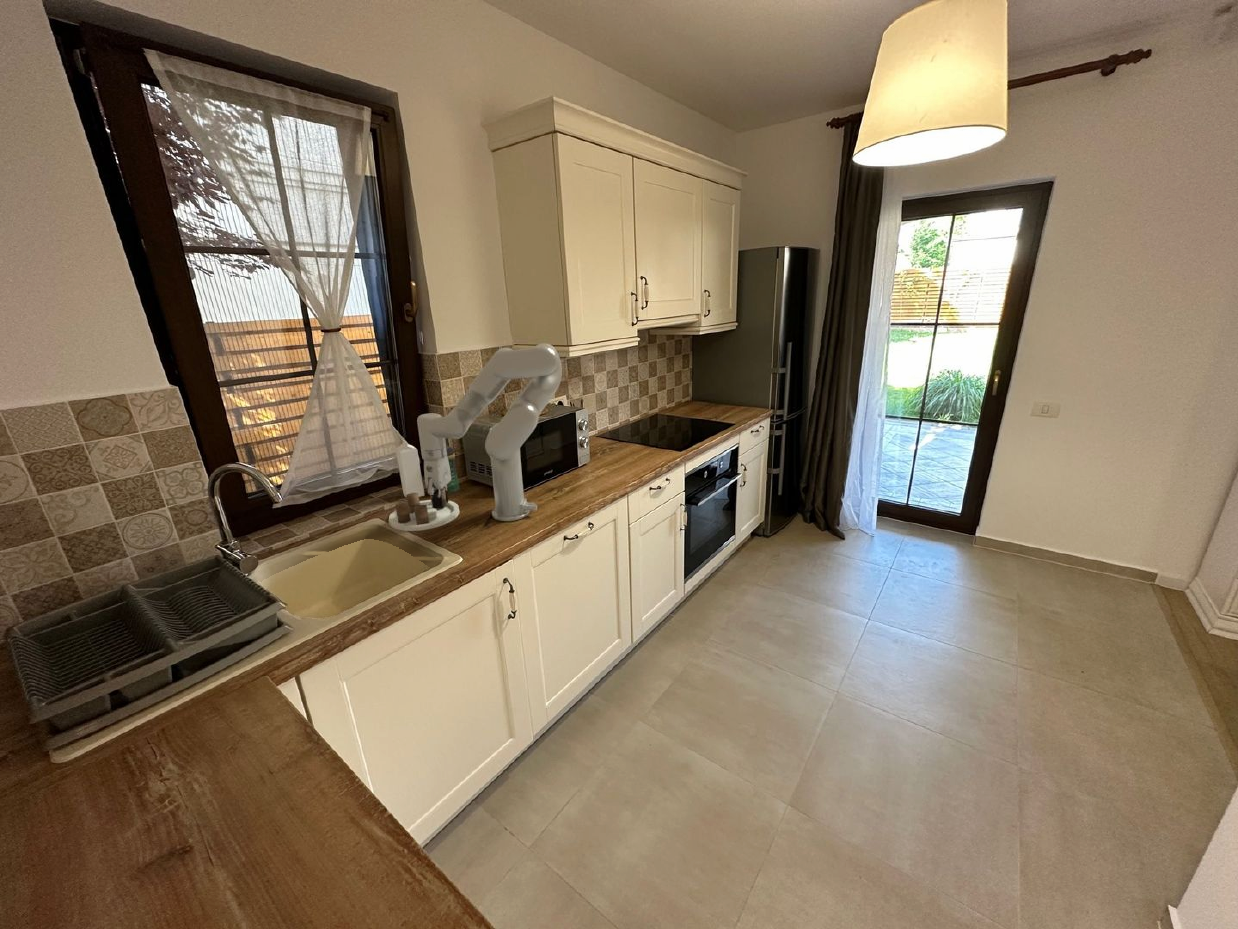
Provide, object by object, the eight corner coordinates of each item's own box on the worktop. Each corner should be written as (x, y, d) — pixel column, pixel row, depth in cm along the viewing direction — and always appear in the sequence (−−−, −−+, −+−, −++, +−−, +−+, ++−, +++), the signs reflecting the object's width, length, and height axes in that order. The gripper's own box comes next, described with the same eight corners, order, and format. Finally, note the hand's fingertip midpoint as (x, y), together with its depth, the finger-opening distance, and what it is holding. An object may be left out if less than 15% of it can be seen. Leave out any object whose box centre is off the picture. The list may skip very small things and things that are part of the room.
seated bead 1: (422, 508, 168) (420, 492, 166) (417, 513, 164) (415, 497, 162) (411, 508, 168) (409, 492, 166) (406, 513, 164) (404, 497, 162)
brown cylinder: (445, 506, 169) (443, 490, 168) (441, 510, 166) (439, 494, 164) (435, 505, 170) (432, 490, 168) (430, 510, 166) (428, 494, 164)
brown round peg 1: (412, 518, 160) (409, 501, 158) (407, 523, 157) (404, 506, 155) (401, 518, 161) (398, 501, 159) (396, 523, 157) (393, 506, 155)
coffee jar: (463, 491, 185) (456, 444, 179) (444, 497, 179) (436, 449, 173) (449, 485, 191) (443, 440, 185) (431, 491, 185) (423, 444, 179)
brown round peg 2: (431, 521, 158) (428, 504, 156) (426, 526, 154) (423, 509, 152) (419, 521, 158) (417, 504, 156) (414, 526, 154) (411, 509, 152)
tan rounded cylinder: (448, 503, 162) (446, 487, 160) (444, 508, 159) (442, 491, 157) (437, 503, 162) (435, 487, 160) (432, 508, 159) (430, 491, 157)
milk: (408, 502, 176) (397, 444, 169) (403, 497, 181) (393, 440, 173) (425, 497, 179) (415, 440, 172) (420, 492, 184) (411, 437, 177)
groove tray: (468, 505, 172) (468, 499, 171) (445, 533, 151) (444, 527, 151) (408, 505, 173) (407, 499, 173) (376, 533, 153) (375, 527, 152)
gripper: (435, 461, 146) (442, 516, 152) (455, 445, 162) (461, 495, 168) (410, 460, 147) (418, 515, 153) (433, 444, 162) (439, 495, 168)
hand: (440, 504), depth 160 cm, fingers closed on tan rounded cylinder, 3 cm apart
